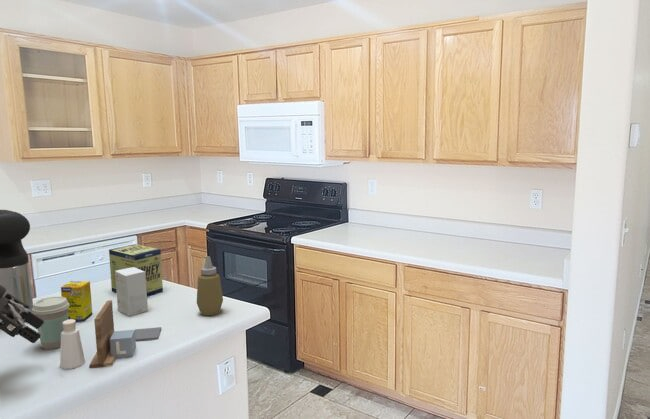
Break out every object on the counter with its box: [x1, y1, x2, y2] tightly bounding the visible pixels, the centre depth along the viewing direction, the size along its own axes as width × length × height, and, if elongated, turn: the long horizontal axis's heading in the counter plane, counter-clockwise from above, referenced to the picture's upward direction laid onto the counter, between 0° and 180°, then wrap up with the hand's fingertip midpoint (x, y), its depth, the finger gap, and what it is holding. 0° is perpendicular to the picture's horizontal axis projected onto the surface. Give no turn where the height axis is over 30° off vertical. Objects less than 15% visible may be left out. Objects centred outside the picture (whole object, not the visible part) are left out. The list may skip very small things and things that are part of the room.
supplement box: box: [60, 280, 93, 323], centre depth 141 cm, size 6×6×11 cm
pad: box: [134, 326, 162, 342], centre depth 130 cm, size 7×7×1 cm
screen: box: [89, 299, 117, 369], centre depth 118 cm, size 5×13×12 cm, turn 13°
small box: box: [115, 267, 149, 317], centre depth 147 cm, size 8×6×13 cm
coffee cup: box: [32, 296, 69, 350], centre depth 123 cm, size 9×9×12 cm
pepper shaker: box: [59, 319, 86, 370], centre depth 113 cm, size 5×5×11 cm
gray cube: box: [110, 329, 137, 359], centre depth 119 cm, size 5×5×5 cm
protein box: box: [108, 243, 164, 298], centre depth 165 cm, size 10×16×16 cm
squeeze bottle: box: [196, 255, 224, 316], centre depth 145 cm, size 8×8×18 cm
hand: (39, 332), depth 108 cm, fingers open, 8 cm apart
